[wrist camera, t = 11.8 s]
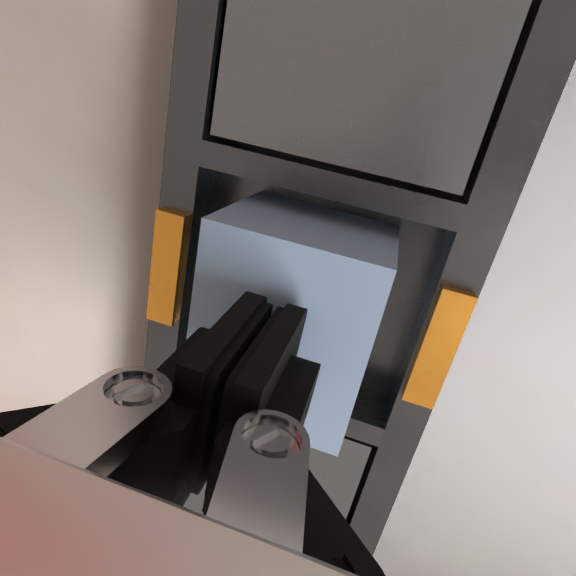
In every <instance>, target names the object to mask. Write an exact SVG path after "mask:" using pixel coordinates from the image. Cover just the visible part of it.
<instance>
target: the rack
mask: <svg viewBox="0 0 576 576" xmlns="http://www.w3.org/2000/svg"><path fill="white" fill-rule="evenodd" d="M575 60H576V0H178V8H177V19H176V30H175V41H174V51H173V62H172V73H171V84H170V95H169V106H168V117H167V128H166V138H165V149H164V160H163V171H162V182H161V193H160V204H159V209H156V212H155V223H154V234H153V246H152V257H151V268H150V279H149V291H148V302H147V313H146V319H149V323H148V334H147V345H146V356H145V367H147V368H151V369H154V370H156V369H157V368H158V367H159V366H160V365H161V364H162V363H163V362H164V361H165V360H166V359H168V358H169V357H170V356H171V355H172V354H173V353H174V352H175V351H176V350H177V349H178V348H179V347H180V346H181V345H182V344H183V343H184V342H185V341H186V337H187V329H188V321H189V313H190V305H191V297H192V290H193V282H194V274H195V266H196V258H197V250H198V242H199V234H200V226H201V218H202V217H204V216H207V215H209V214H211V213H213V212H216V211H218V210H220V209H222V208H224V207H227V206H229V205H231V204H233V203H236V202H238V201H240V200H242V199H244V198H247V197H249V196H251V195H253V194H256V193H258V192H260V191H262V192H266V193H270V194H274V195H278V196H282V197H286V198H290V199H294V200H298V201H302V202H305V203H309V204H313V205H317V206H321V207H325V208H329V209H333V210H337V211H341V212H345V213H349V214H353V215H357V216H361V217H365V218H369V219H373V220H376V221H380V222H384V223H388V224H392V225H396V226H400V230H399V246H398V261H397V272H396V275H395V278H394V281H393V284H392V288H391V291H390V294H389V297H388V300H387V303H386V306H385V310H384V313H383V316H382V319H381V322H380V325H379V329H378V332H377V335H376V338H375V341H374V344H373V348H372V351H371V354H370V357H369V360H368V363H367V366H366V370H365V373H364V376H363V379H362V382H361V385H360V389H359V392H358V395H357V398H356V401H355V404H354V408H353V411H352V414H351V417H350V420H349V423H348V426H347V430H346V433H345V436H344V439H343V442H342V445H341V449H340V452H339V455H338V457H337V456H334V455H331V454H328V453H325V452H322V451H320V450H317V449H314V448H311V447H310V456H309V470H310V471H311V473H312V474H313V475H314V477H315V478H316V479H317V481H318V482H319V484H320V485H321V486H322V488H323V489H324V490H325V492H326V493H327V495H328V496H329V497H330V499H331V500H332V501H333V503H334V504H335V506H336V507H337V508H338V510H339V511H340V512H341V514H342V515H343V517H344V518H345V519H346V521H347V522H348V523H349V525H350V526H351V528H352V529H353V530H354V532H355V533H356V534H357V536H358V537H359V539H360V540H361V541H362V543H363V544H364V545H365V547H366V548H367V550H368V551H369V552H370V554H371V555H372V556H373V553H374V551H375V548H376V546H377V543H378V541H379V538H380V536H381V534H382V531H383V529H384V526H385V524H386V521H387V519H388V517H389V514H390V512H391V509H392V507H393V504H394V502H395V499H396V497H397V495H398V492H399V490H400V487H401V485H402V482H403V480H404V477H405V475H406V473H407V470H408V468H409V465H410V463H411V460H412V458H413V455H414V453H415V451H416V448H417V446H418V443H419V441H420V438H421V436H422V434H423V431H424V429H425V426H426V424H427V421H428V419H429V416H430V414H431V412H432V409H433V407H434V405H435V402H436V400H437V397H438V395H439V392H440V390H441V387H442V385H443V383H444V380H445V378H446V375H447V373H448V370H449V368H450V365H451V363H452V361H453V358H454V356H455V353H456V351H457V348H458V346H459V344H460V341H461V339H462V336H463V334H464V331H465V329H466V326H467V324H468V322H469V319H470V317H471V314H472V312H473V309H474V307H475V304H476V302H477V300H478V297H479V294H480V292H481V289H482V287H483V285H484V282H485V280H486V277H487V275H488V272H489V270H490V267H491V265H492V263H493V260H494V258H495V255H496V253H497V250H498V248H499V246H500V243H501V241H502V238H503V236H504V233H505V231H506V228H507V226H508V224H509V221H510V219H511V216H512V214H513V211H514V209H515V206H516V204H517V202H518V199H519V197H520V194H521V192H522V189H523V187H524V184H525V182H526V180H527V177H528V175H529V172H530V170H531V167H532V165H533V163H534V160H535V158H536V155H537V153H538V150H539V148H540V145H541V143H542V141H543V138H544V136H545V133H546V131H547V128H548V126H549V123H550V121H551V119H552V116H553V114H554V111H555V109H556V106H557V104H558V101H559V99H560V97H561V94H562V92H563V89H564V87H565V84H566V82H567V80H568V77H569V75H570V72H571V70H572V67H573V65H574V62H575ZM206 483H207V481H206ZM206 483H205V485H204V487H203V488H202V490H201V492H200V493H199V494H198V495H196V494H193V493H190V495H189V497H188V499H187V500H186V502H185V504H184V505H183V507H185V508H188V509H191V510H193V511H196V512H198V513H201V514H203V512H202V509H203V503H204V498H205V497H204V495H205V489H206ZM203 515H204V514H203Z"/></svg>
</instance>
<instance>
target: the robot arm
mask: <svg viewBox="0 0 576 576" xmlns="http://www.w3.org/2000/svg"><path fill="white" fill-rule="evenodd" d="M272 309H273V304H270V303H267V297H266V296H262V295H259V294H255V293H252V292H249V291H246V292H245V293H244V294H243V295H242V296H241V297H240V298H239V299H238V300H237V301H236V302H235V303H234V304H233V305H232V306H231V307H230V308H229V309H228V310H227V312H226V313H225V314H224V315H223V316H222V317H221V318H220V319H219V320H218V321H217V322H216V323H215V324H214V325H213V326H212V327H211V328H210V329H208V328H205V327H200V328H198V329H197V330H196V331H195V332H194V333H193V334H192V335H191V336H190V337H189V338H188V339H187V340H186V341H185V342H184V343H183V344H182V345H181V346H180V347H179V348H178V349H177V350H176V351H175V352H174V353H173V354H172V355H171V356H170V357H169V358H168V359H166V360H165V361H164V362H163V363H162V364H161V365H160V366H159V367H158V368H157V369H156V370H154V369H151V368H147V367H139V366H131V367H122V368H118V369H114V370H112V371H110V372H108V373H106V374H104V375H102V376H101V377H99V378H97V379H96V380H94V381H93V382H91V383H89V384H88V385H86V386H84V387H83V388H81V389H80V390H78V391H76V392H75V393H73V394H72V395H70V396H68V397H67V398H65V399H63V400H62V401H60V402H59V403H57V404H51V405H45V406H38V407H32V408H26V409H20V410H14V411H7V412H1V413H0V576H385V574H384V572H383V570H382V569H381V567H380V566H379V565H378V563H377V562H376V560H375V559H374V558H373V556H372V555H371V554H370V552H369V551H368V550H367V548H366V547H365V545H364V544H363V543H362V541H361V540H360V539H359V537H358V536H357V534H356V533H355V532H354V530H353V529H352V528H351V526H350V525H349V523H348V522H347V521H346V519H345V518H344V517H343V515H342V514H341V512H340V511H339V510H338V508H337V507H336V506H335V504H334V503H333V501H332V500H331V499H330V497H329V496H328V495H327V493H326V492H325V490H324V489H323V488H322V486H321V485H320V484H319V482H318V481H317V479H316V478H315V477H314V475H313V474H312V473H311V471H310V470H309V456H310V438H309V434H308V433H307V431H306V429H305V427H304V426H303V425H304V422H305V419H306V416H307V413H308V410H309V406H310V403H311V400H312V396H313V393H314V389H315V385H316V382H317V378H318V375H319V371H320V367H321V364H319V363H316V362H313V361H310V360H307V359H303V358H300V357H297V353H298V349H299V345H300V341H301V337H302V333H303V329H304V325H305V321H306V317H307V311H308V309H306V308H303V307H299V306H296V305H293V304H289V303H287V304H286V306H285V307H280V306H278V307H277V308H276V310H275V311H274V312H273V314H272ZM271 314H272V315H271ZM206 481H207V483H206ZM205 483H206V489H205V495H204V497H205V498H204V503H203V509H202V512H203V514H204V515H203V514H201V513H198V512H196V511H193V510H191V509H188V508H185V507H183V505H184V504H185V502H186V500H187V499H188V497H189V495H190V493H193V494H196V495H198V494H199V493H200V492H201V490H202V488H203V487H204V485H205Z"/></svg>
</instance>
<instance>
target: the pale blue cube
mask: <svg viewBox="0 0 576 576" xmlns="http://www.w3.org/2000/svg"><path fill="white" fill-rule="evenodd" d="M399 230H400V226H396V225H392V224H388V223H384V222H380V221H376V220H373V219H369V218H365V217H361V216H357V215H353V214H349V213H345V212H341V211H337V210H333V209H329V208H325V207H321V206H317V205H313V204H309V203H305V202H302V201H298V200H294V199H290V198H286V197H282V196H278V195H274V194H270V193H266V192H262V191H260V192H258V193H256V194H253V195H251V196H249V197H247V198H244V199H242V200H240V201H238V202H236V203H233V204H231V205H229V206H227V207H224V208H222V209H220V210H218V211H216V212H213V213H211V214H209V215H207V216H204V217H202V218H201V226H200V234H199V242H198V250H197V258H196V266H195V274H194V282H193V290H192V297H191V305H190V313H189V321H188V329H187V337H186V340H187V339H188V338H189V337H190V336H191V335H192V334H193V333H194V332H195V331H196V330H197V329H198V328H200V327H205V328H208V329H210V328H211V327H212V326H213V325H214V324H215V323H216V322H217V321H218V320H219V319H220V318H221V317H222V316H223V315H224V314H225V313H226V312H227V310H228V309H229V308H230V307H231V306H232V305H233V304H234V303H235V302H236V301H237V300H238V299H239V298H240V297H241V296H242V295H243V294H244V293H245V292H246V291H249V292H252V293H255V294H259V295H262V296H266V297H267V303H270V304H273V309H272V314H273V312H274V311H275V310H276V308H277V307H278V306H280V307H285V306H286V304H287V303H289V304H293V305H296V306H299V307H303V308H306V309H308V311H307V317H306V321H305V325H304V329H303V333H302V337H301V341H300V345H299V349H298V353H297V357H300V358H303V359H307V360H310V361H313V362H316V363H319V364H321V367H320V371H319V375H318V378H317V382H316V385H315V389H314V393H313V396H312V400H311V403H310V406H309V410H308V413H307V416H306V419H305V422H304V425H303V426H304V427H305V429H306V431H307V433H308V434H309V438H310V447H311V448H314V449H317V450H320V451H322V452H325V453H328V454H331V455H334V456H337V457H338V455H339V452H340V449H341V445H342V442H343V439H344V436H345V433H346V430H347V426H348V423H349V420H350V417H351V414H352V411H353V408H354V404H355V401H356V398H357V395H358V392H359V389H360V385H361V382H362V379H363V376H364V373H365V370H366V366H367V363H368V360H369V357H370V354H371V351H372V348H373V344H374V341H375V338H376V335H377V332H378V329H379V325H380V322H381V319H382V316H383V313H384V310H385V306H386V303H387V300H388V297H389V294H390V291H391V288H392V284H393V281H394V278H395V275H396V272H397V261H398V246H399ZM272 314H271V315H272Z"/></svg>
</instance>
